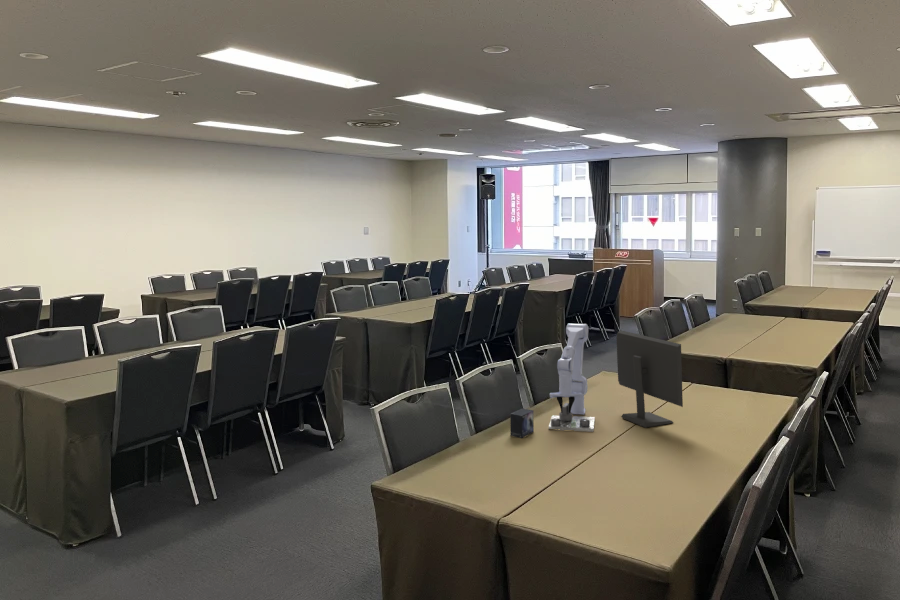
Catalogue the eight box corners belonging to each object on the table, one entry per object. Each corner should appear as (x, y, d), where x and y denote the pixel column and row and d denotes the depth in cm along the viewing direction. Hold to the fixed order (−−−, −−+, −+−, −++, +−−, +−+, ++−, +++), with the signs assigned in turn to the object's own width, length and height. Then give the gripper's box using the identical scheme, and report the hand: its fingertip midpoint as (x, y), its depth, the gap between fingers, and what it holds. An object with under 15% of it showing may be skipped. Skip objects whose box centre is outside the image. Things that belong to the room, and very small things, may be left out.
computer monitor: (693, 431, 298) (694, 342, 293) (663, 436, 292) (664, 346, 288) (632, 407, 338) (632, 328, 334) (605, 411, 333) (605, 331, 328)
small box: (522, 438, 295) (522, 415, 294) (509, 436, 299) (509, 413, 298) (534, 432, 304) (534, 409, 302) (522, 430, 308) (521, 407, 306)
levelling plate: (552, 418, 324) (552, 410, 323) (594, 420, 319) (594, 412, 319) (548, 429, 307) (548, 421, 306) (593, 431, 302) (593, 423, 301)
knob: (557, 421, 313) (557, 406, 312) (563, 414, 324) (563, 399, 323) (570, 422, 311) (570, 407, 310) (575, 415, 322) (575, 400, 321)
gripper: (550, 386, 310) (550, 414, 311) (582, 385, 309) (582, 414, 310) (549, 382, 317) (549, 410, 318) (580, 382, 316) (580, 410, 317)
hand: (565, 412), depth 315 cm, fingers closed on knob, 3 cm apart
